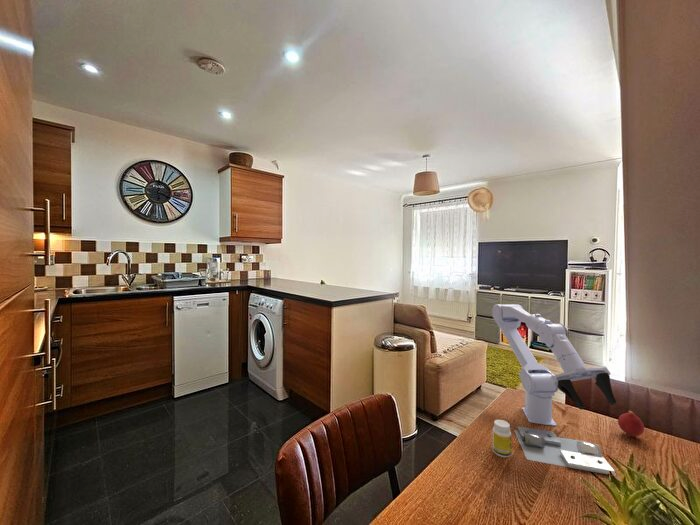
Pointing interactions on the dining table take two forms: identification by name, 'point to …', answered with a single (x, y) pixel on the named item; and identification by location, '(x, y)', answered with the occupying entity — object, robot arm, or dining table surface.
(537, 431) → the fixed leaf
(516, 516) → the dining table surface
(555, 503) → the dining table surface
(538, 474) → the dining table surface
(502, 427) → the supplement bottle
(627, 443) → the dining table surface
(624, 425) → the onion
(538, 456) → the mat
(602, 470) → the loose leaf
